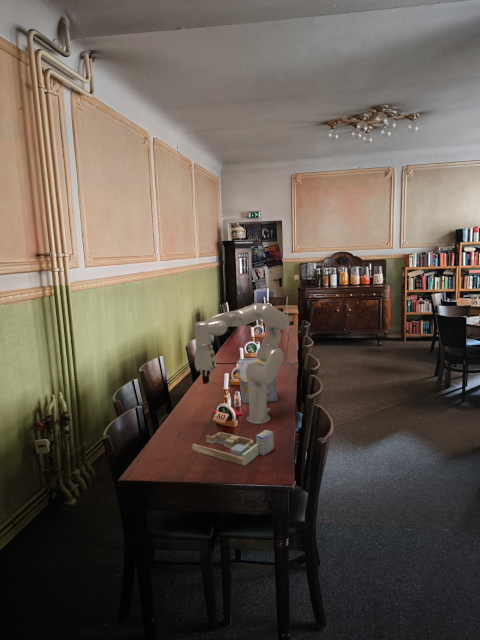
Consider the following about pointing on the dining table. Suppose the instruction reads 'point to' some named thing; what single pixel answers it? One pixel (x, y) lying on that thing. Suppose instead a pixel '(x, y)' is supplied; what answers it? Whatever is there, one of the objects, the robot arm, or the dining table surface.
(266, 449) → the medicine box
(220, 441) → the pads
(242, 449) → the slate block
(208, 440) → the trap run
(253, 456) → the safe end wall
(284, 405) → the dining table surface
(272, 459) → the dining table surface
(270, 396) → the lunch bag
